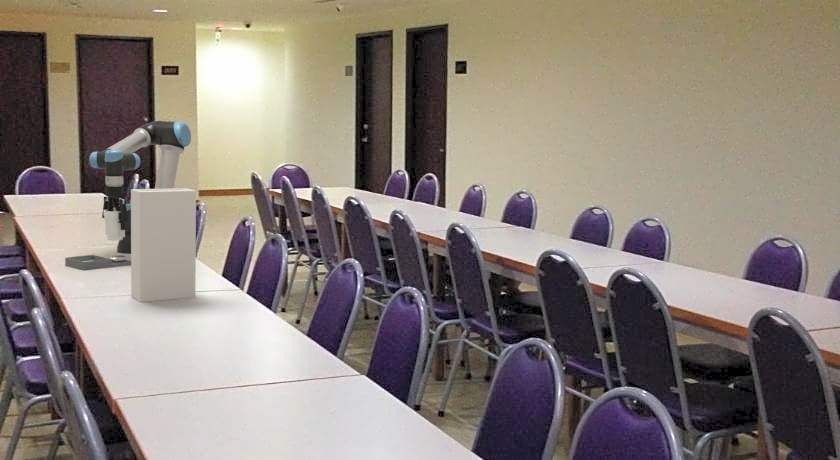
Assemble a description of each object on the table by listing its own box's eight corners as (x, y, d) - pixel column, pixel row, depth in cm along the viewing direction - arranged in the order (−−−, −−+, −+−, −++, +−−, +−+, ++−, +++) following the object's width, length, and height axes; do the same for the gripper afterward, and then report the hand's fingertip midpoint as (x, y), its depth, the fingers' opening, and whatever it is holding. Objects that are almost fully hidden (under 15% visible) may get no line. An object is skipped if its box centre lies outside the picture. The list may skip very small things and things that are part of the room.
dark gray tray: (116, 259, 433) (116, 252, 432) (135, 264, 423) (135, 256, 423) (65, 265, 414) (65, 257, 413) (84, 270, 404) (83, 262, 404)
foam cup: (119, 241, 417) (118, 212, 415) (100, 240, 419) (99, 211, 417) (130, 238, 426) (129, 209, 425) (111, 237, 428) (110, 208, 426)
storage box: (140, 302, 345) (139, 191, 340) (131, 296, 354) (130, 189, 349) (195, 297, 357) (196, 190, 352) (185, 292, 366) (186, 188, 361)
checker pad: (118, 258, 430) (118, 253, 430) (129, 260, 424) (129, 256, 424) (100, 260, 423) (100, 255, 423) (111, 262, 417) (111, 258, 417)
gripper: (93, 183, 423) (94, 233, 427) (121, 188, 409) (122, 239, 413) (108, 182, 429) (109, 232, 432) (136, 187, 415) (137, 237, 418)
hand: (115, 235), depth 423 cm, fingers closed on foam cup, 9 cm apart
